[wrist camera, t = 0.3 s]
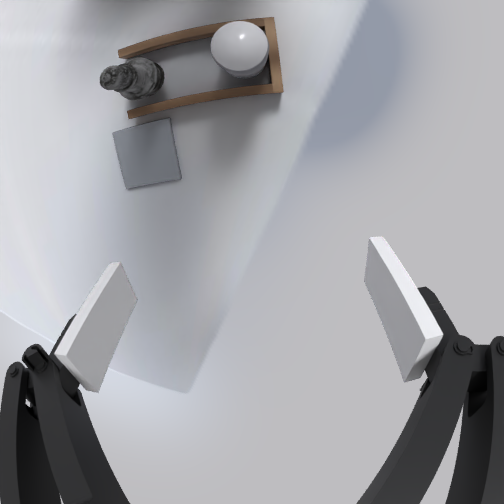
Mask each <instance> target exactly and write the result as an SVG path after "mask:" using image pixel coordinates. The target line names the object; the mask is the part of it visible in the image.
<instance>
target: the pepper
mask: <svg viewBox="0 0 504 504" xmlns="http://www.w3.org/2000/svg"><path fill="white" fill-rule="evenodd" d="M211 53H212V56H213V59H214V60H215V62H216V63H217V64H218V65H219V66H220V67H221V68H223V69H224V70H226V71H227V72H228V73H230V74H231V75H233V76H235V77H238V78H244V79H245V78H251V77H254V76H256V75H258V74H259V73H260V72H262V70H263V69H264V67H265V65H266V62H267V58H268V53H269V41H268V39H267V37H266V35H265V34H264V32H263V31H262V30H261V29H260V28H259V27H258V26H256V25H254V24H252V23H249V22H245V21H235V22H231V23H228V24H225V25H224V26H222V27H221V28H219V29H218V30H217V31H216V33H215V34H214V36H213V38H212V40H211Z"/></svg>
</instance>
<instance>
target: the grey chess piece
mask: <svg viewBox="0 0 504 504" xmlns="http://www.w3.org/2000/svg"><path fill="white" fill-rule="evenodd" d="M163 81H164V72H163V69H162V68H161V66H160V65H158V64H157V63H155V62H152V61H150V60H149V59H147V58H144V57H137V58H133V59H131V60H129V61H127V62H126V63H125V64H121V65H119V66H110V67H107V68H106V69H105V70H104V71H103V72H102V73H101V76H100V84H101V86H102V87H103V88H104V89H107V90H114V91H116V92H119V93H120V94H121V95H122V96H123V97H125V98H127V99H129V100H137V99H141V98H143V97H146V96H151V95H153V94H155V93H156V92H157V91H158V90H159V89H160V88H161V86H162V84H163Z"/></svg>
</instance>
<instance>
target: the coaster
mask: <svg viewBox="0 0 504 504" xmlns="http://www.w3.org/2000/svg"><path fill="white" fill-rule="evenodd" d="M113 138H114V142H115V147H116V151H117V155H118V160H119V164H120V168H121V172H122V175H123V179H124V183H125V187H126V189H129V188H134V187H139V186H144V185H149V184H155V183H160V182H166V181H172V180H178V179H181V178H182V177H181V173H180V168H179V163H178V158H177V153H176V147H175V142H174V137H173V132H172V126H171V120H170V118H167V119H162V120H158V121H154V122H150V123H146V124H142V125H138V126H134V127H131V128H127V129H124V130H120V131H117V132H114V133H113Z"/></svg>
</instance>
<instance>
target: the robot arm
mask: <svg viewBox="0 0 504 504" xmlns="http://www.w3.org/2000/svg"><path fill="white" fill-rule="evenodd" d="M364 282H365V284H366V286H367V288H368V291H369V293H370V295H371V297H372V300H373V302H374V305H375V307H376V309H377V312H378V314H379V317H380V319H381V321H382V324H383V326H384V329H385V331H386V334H387V337H388V339H389V342H390V344H391V347H392V350H393V352H394V355H395V358H396V361H397V363H398V366H399V369H400V371H401V375H402V378H403V381H404V382H407V381H411V380H415V379H418V378H420V377H421V376H422V374H423V372H424V370H425V371H426V374H427V377H428V378H427V379H426V381H425V383H424V384H423V386H422V388H421V389H420V391H421V393H420V396H419V398H418V400H417V402H416V405H415V407H414V409H413V411H412V413H411V415H410V417H409V419H408V421H407V423H406V426H405V427H404V429H403V431H402V433H401V435H400V437H399V439H398V440H397V442H396V444H395V446H394V448H393V449H392V451H391V453H390V455H389V456H388V458H387V460H386V461H385V463H384V465H383V466H382V468H381V469H380V471H379V473H378V474H377V475H376V477H375V478H374V480H373V481H372V483H371V484H370V486H369V487H368V489H367V490H366V491H365V493H364V494H363V496H362V497H361V498H360V500H359V501H358V502H357V504H419V503H420V502H421V500H422V498H423V496H424V495H425V493H426V491H427V489H428V488H429V486H430V484H431V482H432V480H433V478H434V476H435V474H436V472H437V470H438V468H439V466H440V464H441V461H442V459H443V457H444V455H445V452H446V450H447V448H448V445H449V443H450V440H451V438H452V435H453V432H454V430H455V427H456V424H457V422H458V419H459V416H460V413H461V409H462V406H463V416H462V426H461V434H460V441H459V447H458V453H457V459H456V464H455V469H454V474H453V478H452V482H451V486H450V490H449V493H448V497H447V500H446V504H504V337H503V336H497V337H495V338H494V339H493V340H492V342H491V344H490V345H475V344H474V343H473V342H472V341H471V340H470V339H469V338H467V337H465V336H462V335H459V334H458V332H457V330H456V328H455V327H454V325H453V323H452V321H451V320H450V318H449V316H448V315H447V313H446V311H445V310H444V308H443V307H442V305H441V303H440V301H439V300H438V298H437V297H436V295H435V294H434V293H433V292H432V291H431V290H430V289H428V288H427V287H421V288H417V287H416V286H415V284H414V282H413V281H412V279H411V278H410V276H409V275H408V273H407V272H406V270H405V268H404V267H403V266H402V264H401V262H400V261H399V259H398V258H397V256H396V255H395V253H394V252H393V250H392V249H391V247H390V246H389V245H388V243H387V242H386V240H385V239H384V237H383V236H380V237H370V238H369V244H368V254H367V263H366V271H365V278H364ZM137 300H138V299H137V297H136V295H135V293H134V291H133V288H132V286H131V284H130V282H129V280H128V277H127V275H126V273H125V270H124V268H123V266H122V263H121V262H114V263H110V264H109V265H108V267H107V268H106V269H105V271H104V272H103V274H102V275H101V277H100V278H99V280H98V281H97V283H96V284H95V286H94V287H93V289H92V290H91V292H90V294H89V295H88V297H87V298H86V300H85V301H84V303H83V305H82V306H81V308H80V310H79V311H78V313H77V314H75V315H74V316H73V317H72V318H71V319H70V320H69V321H68V323H67V325H66V326H65V329H64V330H63V331H62V333H61V336H60V337H59V338H58V340H57V342H56V344H55V345H54V347H53V349H52V351H51V353H50V355H48V354H47V353H46V352H45V350H44V349H43V348H42V347H41V346H40V345H39V344H34V345H31V346H30V347H28V348H27V349H26V351H25V352H24V354H23V357H22V361H23V362H24V363H25V364H26V366H27V367H28V368H25V367H24V366H23V364H22V363H20V362H15V363H13V364H11V365H10V366H9V369H8V370H7V373H6V377H5V383H4V389H3V395H2V403H1V412H0V500H1V504H61V499H60V495H61V498H62V501H63V503H64V504H130V503H129V501H128V499H127V498H126V496H125V494H124V493H123V491H122V489H121V487H120V485H119V483H118V481H117V479H116V477H115V476H114V473H113V471H112V469H111V467H110V465H109V463H108V461H107V459H106V457H105V455H104V452H103V450H102V448H101V445H100V443H99V441H98V438H97V436H96V433H95V431H94V428H93V426H92V423H91V420H90V417H89V414H88V412H87V409H86V406H85V403H84V400H83V397H82V393H81V392H80V390H79V389H78V387H79V384H81V385H82V386H83V387H84V388H85V389H86V390H88V391H92V392H99V390H100V387H101V384H102V382H103V379H104V376H105V374H106V371H107V369H108V366H109V364H110V361H111V359H112V357H113V354H114V352H115V349H116V347H117V345H118V342H119V340H120V338H121V335H122V333H123V331H124V328H125V326H126V324H127V322H128V319H129V317H130V315H131V313H132V311H133V309H134V306H135V304H136V302H137ZM26 399H27V400H28V401H29V402H30V407H29V406H27V405H26V404H25V402H26ZM463 403H464V404H463ZM59 493H60V494H59Z"/></svg>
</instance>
